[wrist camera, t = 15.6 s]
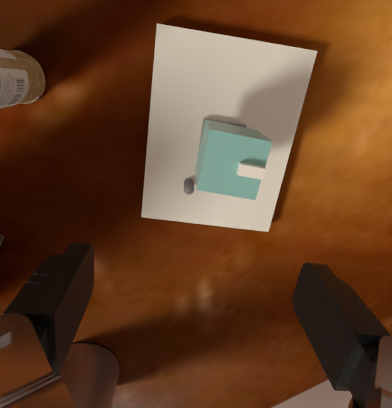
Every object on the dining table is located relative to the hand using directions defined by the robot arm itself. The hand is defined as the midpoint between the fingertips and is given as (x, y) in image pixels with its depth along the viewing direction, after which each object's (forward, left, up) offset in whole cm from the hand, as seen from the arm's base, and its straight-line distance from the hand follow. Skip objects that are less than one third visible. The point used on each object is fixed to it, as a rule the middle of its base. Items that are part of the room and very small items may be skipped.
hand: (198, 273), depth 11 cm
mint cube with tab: (+2, -3, -16) cm, 16 cm away
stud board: (+2, -3, -21) cm, 21 cm away
